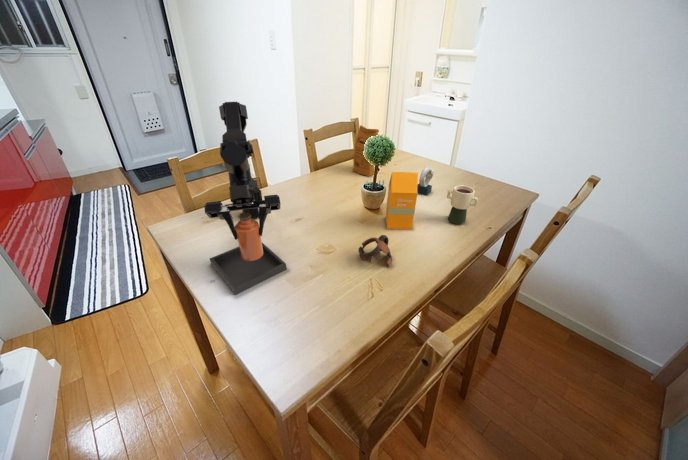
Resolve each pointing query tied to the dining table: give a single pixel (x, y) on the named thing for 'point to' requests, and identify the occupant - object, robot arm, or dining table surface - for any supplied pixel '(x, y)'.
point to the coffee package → (359, 160)
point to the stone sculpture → (425, 181)
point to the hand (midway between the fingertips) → (248, 237)
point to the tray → (246, 268)
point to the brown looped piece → (376, 249)
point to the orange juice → (401, 200)
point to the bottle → (248, 238)
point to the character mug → (460, 203)
